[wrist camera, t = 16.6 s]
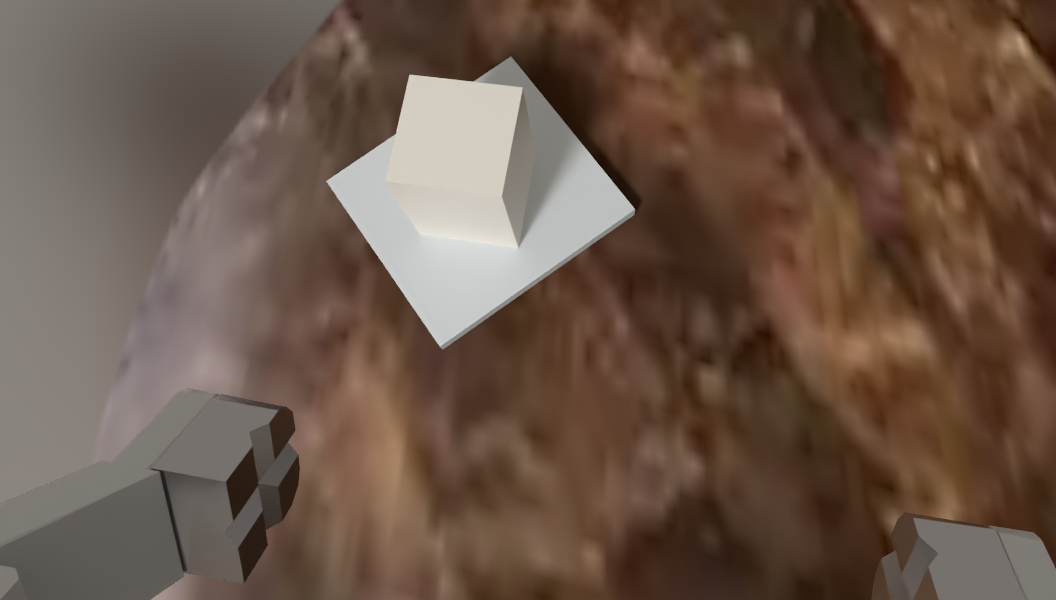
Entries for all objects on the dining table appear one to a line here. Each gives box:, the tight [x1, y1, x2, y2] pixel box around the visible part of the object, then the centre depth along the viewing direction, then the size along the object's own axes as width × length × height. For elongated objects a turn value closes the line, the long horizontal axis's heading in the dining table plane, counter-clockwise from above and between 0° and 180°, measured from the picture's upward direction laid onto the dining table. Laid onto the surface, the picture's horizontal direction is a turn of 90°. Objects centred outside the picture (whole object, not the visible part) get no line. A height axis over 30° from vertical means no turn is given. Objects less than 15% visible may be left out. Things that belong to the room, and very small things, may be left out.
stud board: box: [327, 57, 635, 349], centre depth 43 cm, size 13×12×6 cm
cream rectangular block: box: [385, 75, 536, 248], centre depth 42 cm, size 6×6×8 cm
